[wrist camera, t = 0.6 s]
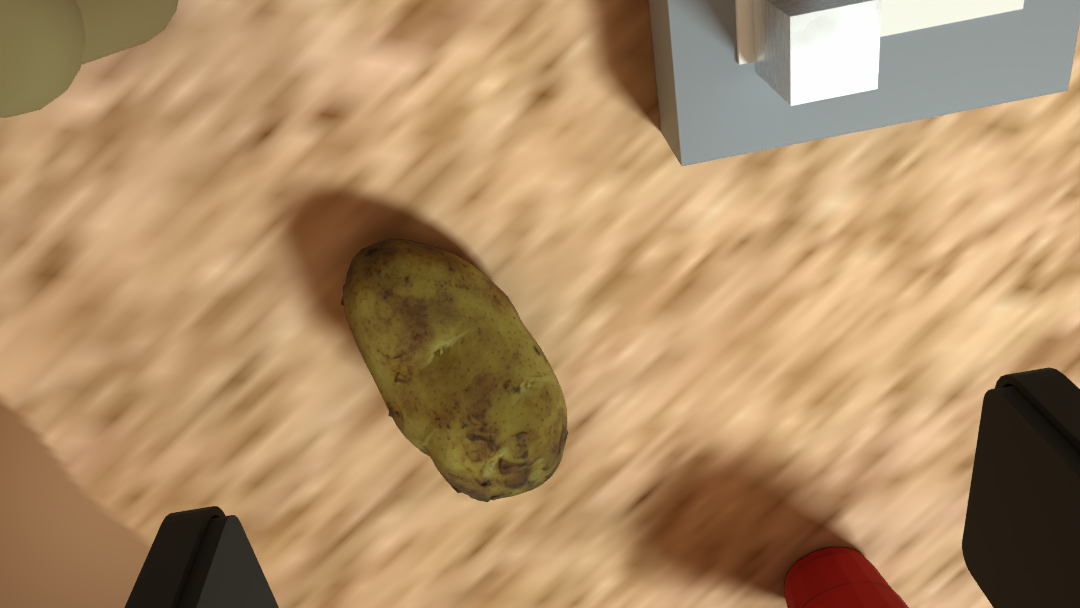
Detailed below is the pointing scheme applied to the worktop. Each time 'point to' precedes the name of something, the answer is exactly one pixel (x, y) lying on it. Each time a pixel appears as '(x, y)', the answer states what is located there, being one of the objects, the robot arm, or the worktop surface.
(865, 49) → the slider knob
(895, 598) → the plastic cup
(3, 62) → the cork
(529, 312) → the worktop surface
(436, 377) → the potato
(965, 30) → the panel
